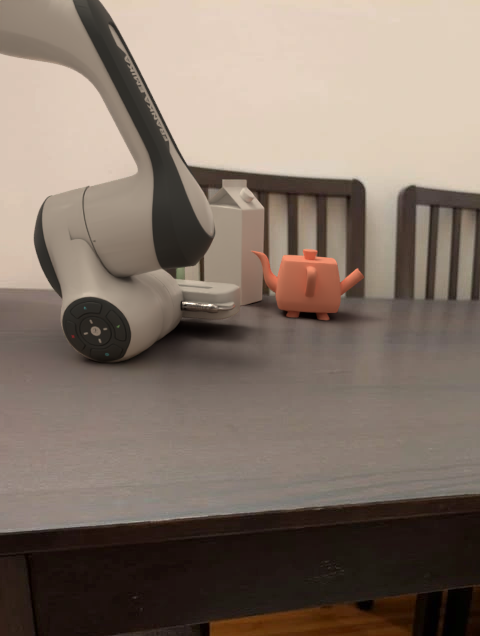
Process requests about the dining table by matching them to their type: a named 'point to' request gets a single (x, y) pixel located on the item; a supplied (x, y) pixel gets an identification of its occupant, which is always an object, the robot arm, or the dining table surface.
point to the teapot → (307, 283)
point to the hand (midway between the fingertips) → (176, 285)
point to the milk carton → (236, 240)
